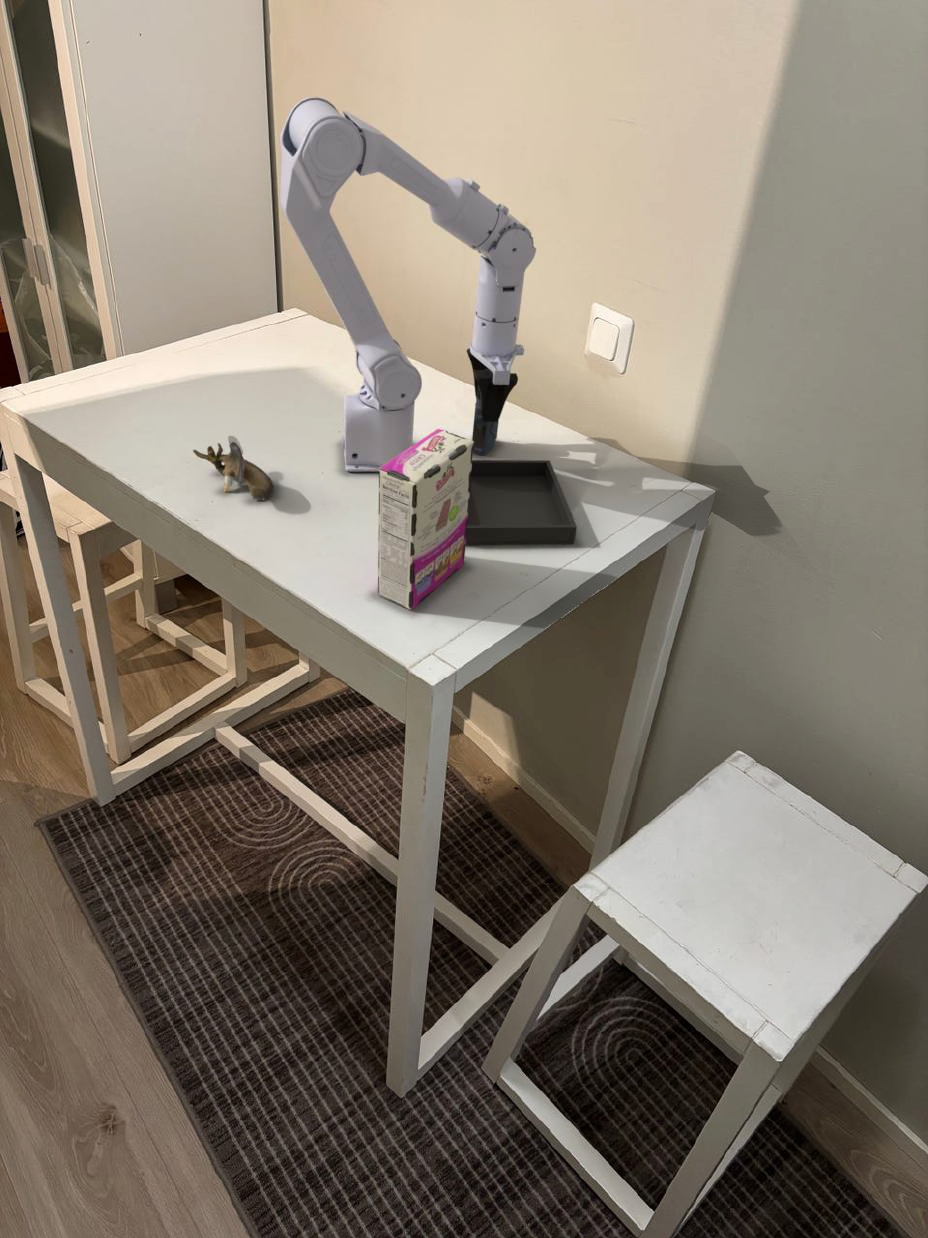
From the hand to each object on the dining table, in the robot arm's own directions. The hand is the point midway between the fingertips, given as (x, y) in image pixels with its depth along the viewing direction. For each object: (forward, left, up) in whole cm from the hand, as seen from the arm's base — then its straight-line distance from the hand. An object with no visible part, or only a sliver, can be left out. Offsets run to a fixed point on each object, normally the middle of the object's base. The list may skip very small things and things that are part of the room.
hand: (487, 411), depth 132 cm
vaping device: (0, 0, -6) cm, 6 cm away
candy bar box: (-12, -31, -6) cm, 34 cm away
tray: (+1, -16, -6) cm, 17 cm away
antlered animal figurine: (-33, -10, -6) cm, 35 cm away
